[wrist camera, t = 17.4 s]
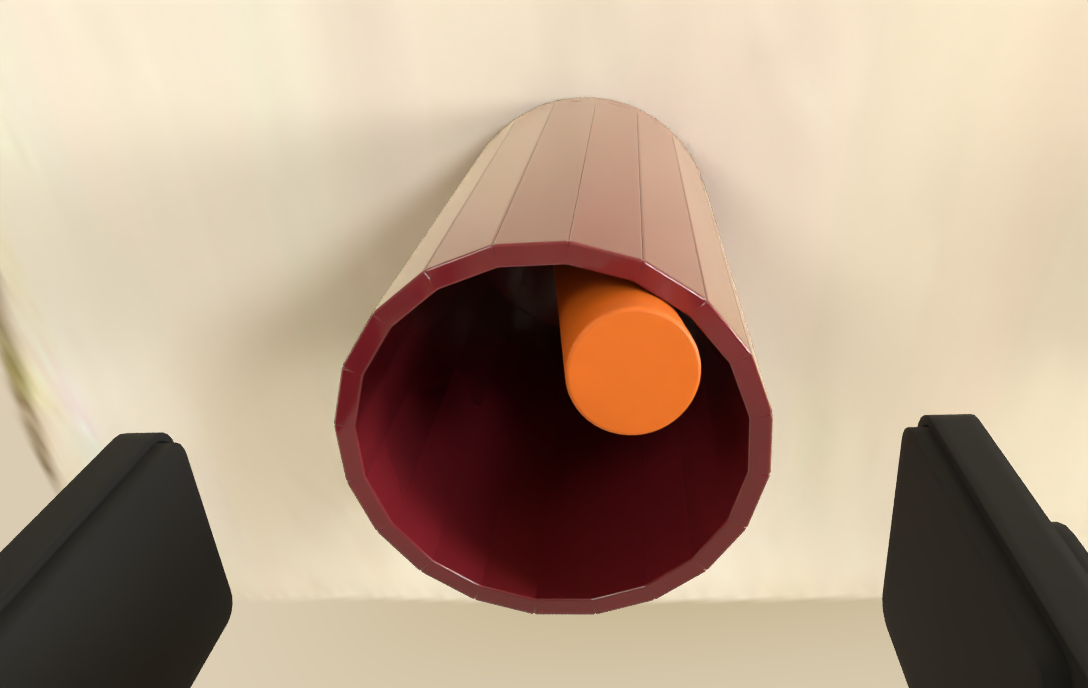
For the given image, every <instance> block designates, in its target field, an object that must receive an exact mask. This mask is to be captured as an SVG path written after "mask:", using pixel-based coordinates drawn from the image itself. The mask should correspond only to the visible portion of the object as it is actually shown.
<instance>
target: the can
mask: <svg viewBox="0 0 1088 688" xmlns="http://www.w3.org/2000/svg"><path fill="white" fill-rule="evenodd" d="M565 264H567V265H571V266H575V267H578V268H582V269H586V270H590V271H594V272H598V273H602V274H606V275H610V276H614V277H618V278H622V279H625V280H629V281H633V282H635V283H636V284H638V285H640V286H641V287H643V288H644V289H646V290H648V291H649V292H651V293H653V294H654V295H656V296H657V297H659V298H661V299H662V300H664V301H666V302H667V303H669V304H670V305H672V306H673V307H674V309H675V310H676V312H677V314H678V315H679V317H680V318H681V320H682V321H683V323H684V325H685V326H686V328H687V329H688V331H689V333H690V334H691V336H692V338H693V339H694V341H695V343H696V346H697V348H698V351H699V355H700V360H701V377H700V382H699V386H698V389H697V392H696V394H695V396H694V398H693V400H692V402H691V403H690V405H689V406H688V407H687V409H686V410H685V411H684V412H683V413H682V414H681V415H680V416H679V417H678V418H677V419H676V420H674V421H673V422H672V423H670V424H669V425H667V426H665V427H663V428H661V429H659V430H656V431H654V432H650V433H646V434H640V435H621V434H616V433H611V432H608V431H606V430H603V429H601V428H599V427H597V426H595V425H594V424H592V423H591V422H589V421H588V420H587V419H586V418H585V417H584V416H583V415H581V413H580V412H579V411H578V410H577V408H576V407H575V405H574V404H573V402H572V400H571V398H570V396H569V394H568V390H567V387H566V381H565V372H564V363H563V353H562V343H561V334H560V324H559V314H558V305H557V295H556V285H555V276H554V266H553V265H565ZM334 423H335V426H334V427H335V431H336V436H337V440H338V445H339V449H340V454H341V459H342V463H343V468H344V472H345V477H346V480H347V482H348V485H349V486H350V488H351V490H352V491H353V493H354V495H355V496H356V498H357V499H358V501H359V503H360V504H361V506H362V508H363V509H364V511H365V513H366V514H367V516H368V518H369V519H370V521H371V523H372V524H373V526H374V528H375V529H376V530H377V531H378V533H379V534H380V535H381V536H382V537H384V538H385V539H386V540H387V541H388V542H389V543H390V544H391V545H392V546H393V547H394V548H396V549H397V550H398V551H399V552H400V553H401V554H402V555H403V556H404V557H405V558H406V559H408V560H409V561H410V562H411V563H412V564H413V565H414V566H415V567H416V568H417V569H419V570H421V571H422V572H423V573H425V574H427V575H428V576H430V577H432V578H434V579H436V580H438V581H440V582H442V583H444V584H446V585H448V586H449V587H451V588H453V589H455V590H457V591H459V592H461V593H463V594H465V595H467V596H469V597H470V598H472V599H474V598H475V599H476V600H478V601H482V602H486V603H490V604H494V605H498V606H503V607H507V608H511V609H515V610H519V611H523V612H527V613H531V614H533V613H535V614H595V613H596V614H600V613H603V612H608V611H611V610H616V609H620V608H624V607H628V606H632V605H636V604H640V603H644V602H648V601H652V600H654V599H657V598H659V597H661V596H662V595H664V594H666V593H668V592H669V591H671V590H673V589H675V588H677V587H678V586H680V585H682V584H684V583H686V582H687V581H689V580H691V579H693V578H694V577H696V576H698V575H700V574H702V573H703V572H705V571H706V570H707V569H709V568H710V566H711V565H712V564H713V563H714V562H715V561H716V560H717V559H718V558H719V557H720V556H721V555H722V554H723V553H724V552H725V551H726V549H727V548H728V547H729V546H730V545H731V544H732V543H733V542H734V541H735V540H736V539H737V538H738V537H739V536H740V535H741V534H742V532H743V531H744V530H745V529H746V527H747V526H748V524H749V522H750V519H751V517H752V515H753V513H754V510H755V508H756V506H757V503H758V501H759V499H760V497H761V494H762V492H763V490H764V487H765V485H766V483H767V481H768V478H769V476H770V475H769V474H770V472H771V450H772V425H773V415H772V409H771V406H770V402H769V399H768V395H767V392H766V389H765V385H764V382H763V379H762V375H761V372H760V369H759V365H758V362H757V359H756V355H755V352H754V349H753V345H752V342H751V339H750V335H749V332H748V329H747V325H746V322H745V319H744V315H743V312H742V309H741V305H740V302H739V299H738V295H737V292H736V289H735V285H734V282H733V278H732V275H731V272H730V268H729V265H728V262H727V258H726V255H725V252H724V248H723V245H722V242H721V238H720V235H719V232H718V228H717V225H716V222H715V218H714V215H713V212H712V208H711V205H710V202H709V199H708V196H707V193H706V190H705V187H704V184H703V181H702V178H701V175H700V172H699V169H698V167H697V165H696V163H695V162H694V160H693V158H692V156H691V155H690V153H689V152H688V151H687V149H686V148H685V146H684V145H683V144H682V142H681V141H680V140H679V139H678V138H677V137H676V136H675V135H674V134H673V133H672V132H671V131H670V130H669V129H668V128H667V127H666V126H664V125H663V124H662V123H661V122H659V121H658V120H657V119H655V118H653V117H652V116H650V115H648V114H647V113H645V112H643V111H641V110H639V109H637V108H634V107H632V106H630V105H627V104H624V103H620V102H617V101H613V100H608V99H601V98H570V99H563V100H558V101H554V102H551V103H547V104H544V105H541V106H539V107H537V108H534V109H532V110H530V111H528V112H526V113H524V114H523V115H521V116H519V117H518V118H516V119H514V120H513V121H512V122H511V123H510V124H508V125H507V126H506V127H505V128H503V129H502V130H501V131H500V132H499V133H498V134H497V135H496V136H495V137H494V139H493V140H492V141H491V142H489V143H488V144H487V146H486V147H485V148H484V150H483V151H482V152H481V154H480V155H479V157H478V158H477V160H476V161H475V163H474V164H473V166H472V167H471V169H470V170H469V172H468V173H467V175H466V176H465V177H464V179H463V180H462V182H461V183H460V185H459V186H458V188H457V189H456V191H455V192H454V194H453V195H452V197H451V198H450V200H449V201H448V202H447V204H446V205H445V207H444V208H443V210H442V211H441V213H440V214H439V216H438V217H437V219H436V220H435V222H434V223H433V225H432V226H431V227H430V229H429V230H428V232H427V233H426V235H425V236H424V238H423V239H422V241H421V242H420V244H419V245H418V247H417V248H416V250H415V251H414V252H413V254H412V255H411V257H410V258H409V260H408V261H407V263H406V264H405V266H404V267H403V269H402V270H401V272H400V273H399V275H398V276H397V277H396V279H395V280H394V282H393V283H392V285H391V286H390V288H389V289H388V291H387V292H386V294H385V295H384V297H383V298H382V300H381V301H380V302H379V304H378V305H377V307H376V308H375V310H374V311H373V313H372V314H371V316H370V318H369V319H368V321H367V323H366V325H365V327H364V328H363V330H362V332H361V334H360V335H359V337H358V339H357V341H356V342H355V344H354V346H353V348H352V350H351V351H350V353H349V355H348V357H347V358H346V360H345V362H344V364H343V367H342V371H341V378H340V385H339V392H338V399H337V406H336V413H335V420H334Z"/></svg>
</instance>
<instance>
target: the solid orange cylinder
mask: <svg viewBox="0 0 1088 688" xmlns="http://www.w3.org/2000/svg"><path fill="white" fill-rule="evenodd" d="M553 266H554V276H555V285H556V295H557V305H558V314H559V324H560V334H561V343H562V353H563V363H564V372H565V381H566V387H567V390H568V394H569V396H570V398H571V400H572V402H573V404H574V405H575V407H576V408H577V410H578V411H579V412H580V413H581V415H583V416H584V417H585V418H586V419H587V420H588V421H589V422H591V423H592V424H594V425H595V426H597V427H599V428H601V429H603V430H606V431H608V432H611V433H616V434H621V435H640V434H646V433H650V432H654V431H656V430H659V429H661V428H663V427H665V426H667V425H669V424H670V423H672V422H673V421H674V420H676V419H677V418H678V417H679V416H680V415H681V414H682V413H683V412H684V411H685V410H686V409H687V407H688V406H689V405H690V403H691V402H692V400H693V398H694V396H695V394H696V392H697V389H698V386H699V382H700V377H701V360H700V355H699V351H698V348H697V346H696V343H695V341H694V339H693V338H692V336H691V334H690V333H689V331H688V329H687V328H686V326H685V325H684V323H683V321H682V320H681V318H680V317H679V315H678V314H677V312H676V310H675V309H674V307H673V306H672V305H670V304H669V303H667V302H666V301H664V300H662V299H661V298H659V297H657V296H656V295H654V294H653V293H651V292H649V291H648V290H646V289H644V288H643V287H641V286H640V285H638V284H636V283H635V282H633V281H629V280H625V279H622V278H618V277H614V276H610V275H606V274H602V273H598V272H594V271H590V270H586V269H582V268H578V267H575V266H571V265H567V264H565V265H553Z"/></svg>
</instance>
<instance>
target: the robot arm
mask: <svg viewBox="0 0 1088 688" xmlns="http://www.w3.org/2000/svg"><path fill="white" fill-rule="evenodd" d="M882 601H883V613H884V618H885V622H886V626H887V629H888V632H889V634H890V637H891V640H892V643H893V645H894V648H895V651H896V654H897V656H898V659H899V662H900V665H901V667H902V670H903V673H904V675H905V678H906V681H907V684H908V686H909V688H1088V553H1087V551H1086V550H1085V548H1084V547H1083V546H1082V544H1081V543H1080V542H1079V540H1078V539H1077V537H1076V536H1075V535H1074V534H1073V533H1072V532H1071V530H1070V529H1069V528H1068V527H1067V526H1066V525H1063V524H1061V523H1058V522H1051V521H1050V520H1049V519H1048V517H1047V516H1046V514H1045V513H1044V511H1043V510H1042V509H1041V507H1040V506H1039V504H1038V503H1037V502H1036V500H1035V499H1034V497H1033V496H1032V494H1031V493H1030V492H1029V490H1028V489H1027V487H1026V486H1025V484H1024V483H1023V482H1022V480H1021V479H1020V477H1019V476H1018V474H1017V473H1016V472H1015V470H1014V469H1013V467H1012V466H1011V464H1010V463H1009V462H1008V460H1007V459H1006V457H1005V456H1004V455H1003V453H1002V452H1001V450H1000V449H999V447H998V446H997V445H996V443H995V442H994V440H993V439H992V437H991V436H990V435H989V433H988V432H987V430H986V429H985V427H984V426H983V425H982V423H981V422H980V420H979V419H978V418H977V417H976V416H975V415H972V414H958V415H924V416H923V417H921V419H920V421H919V423H918V427H907V428H906V429H905V430H904V432H903V436H902V442H901V450H900V458H899V466H898V474H897V482H896V490H895V498H894V507H893V515H892V523H891V531H890V539H889V547H888V555H887V563H886V571H885V579H884V587H883V598H882ZM231 611H232V594H231V590H230V587H229V584H228V581H227V578H226V575H225V572H224V569H223V565H222V562H221V559H220V556H219V553H218V550H217V547H216V544H215V541H214V538H213V535H212V531H211V528H210V525H209V522H208V519H207V516H206V513H205V510H204V507H203V504H202V501H201V497H200V494H199V491H198V488H197V485H196V482H195V479H194V476H193V473H192V470H191V467H190V463H189V460H188V457H187V454H186V452H185V450H184V448H183V447H182V446H181V444H178V443H174V442H173V440H172V438H171V437H170V436H169V435H168V434H165V433H125V434H120V435H118V436H117V437H115V438H114V439H113V440H112V441H111V442H110V443H109V444H108V445H107V446H106V447H105V448H104V449H103V450H102V451H101V452H100V453H99V454H98V455H97V456H96V457H95V458H94V459H93V460H92V461H91V462H90V463H89V464H88V465H87V466H86V467H85V468H84V469H83V470H82V471H81V472H80V473H79V474H78V475H77V476H76V477H75V478H74V479H73V480H72V481H71V482H70V483H69V484H68V485H67V486H66V487H65V488H64V489H63V490H62V491H61V492H60V493H59V494H58V495H57V496H56V497H55V498H54V499H53V500H52V501H51V502H50V503H49V504H48V505H47V506H46V507H45V508H44V509H43V510H42V511H41V512H40V513H39V514H38V515H37V516H36V517H35V518H34V519H33V520H32V521H31V522H30V523H29V524H28V525H27V526H26V527H25V528H24V529H23V530H22V531H21V532H20V533H19V534H18V535H17V536H16V537H15V538H14V539H13V540H12V541H11V542H10V543H9V544H8V545H7V546H6V547H5V548H4V549H3V550H2V551H1V552H0V688H190V687H191V686H192V684H193V682H194V680H195V679H196V677H197V675H198V674H199V672H200V670H201V668H202V667H203V664H204V663H205V661H206V660H207V658H208V656H209V654H210V652H211V651H212V649H213V647H214V646H215V644H216V642H217V640H218V639H219V637H220V635H221V633H222V632H223V630H224V628H225V626H226V625H227V623H228V621H229V618H230V615H231Z"/></svg>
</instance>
